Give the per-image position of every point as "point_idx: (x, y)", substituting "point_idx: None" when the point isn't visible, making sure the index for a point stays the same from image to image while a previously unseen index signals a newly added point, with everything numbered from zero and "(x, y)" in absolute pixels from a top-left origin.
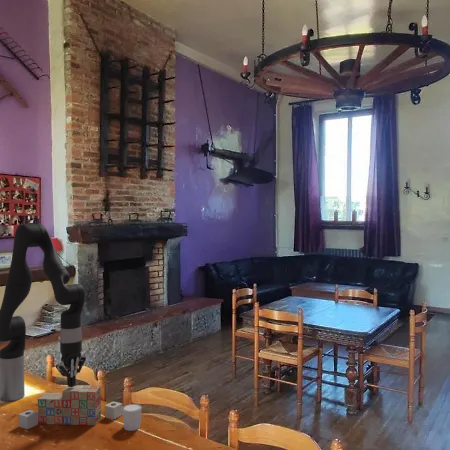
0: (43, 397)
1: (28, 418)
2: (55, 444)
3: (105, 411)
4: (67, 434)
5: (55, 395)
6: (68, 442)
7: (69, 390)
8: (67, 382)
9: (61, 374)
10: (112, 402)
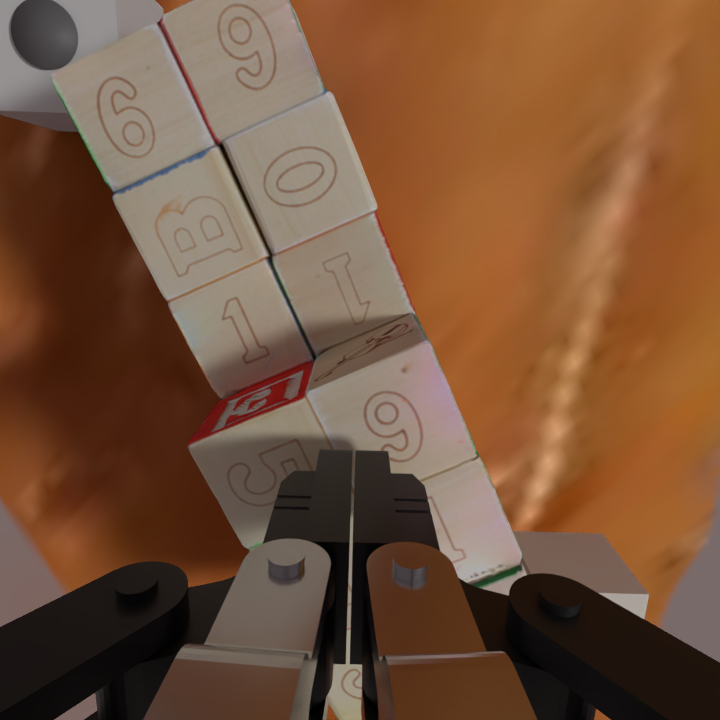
0: (132, 106)
1: (12, 115)
2: (27, 517)
3: (523, 565)
4: (170, 485)
5: (267, 216)
6: (94, 569)
7: (263, 516)
8: (275, 508)
9: (40, 615)
10: (624, 605)
